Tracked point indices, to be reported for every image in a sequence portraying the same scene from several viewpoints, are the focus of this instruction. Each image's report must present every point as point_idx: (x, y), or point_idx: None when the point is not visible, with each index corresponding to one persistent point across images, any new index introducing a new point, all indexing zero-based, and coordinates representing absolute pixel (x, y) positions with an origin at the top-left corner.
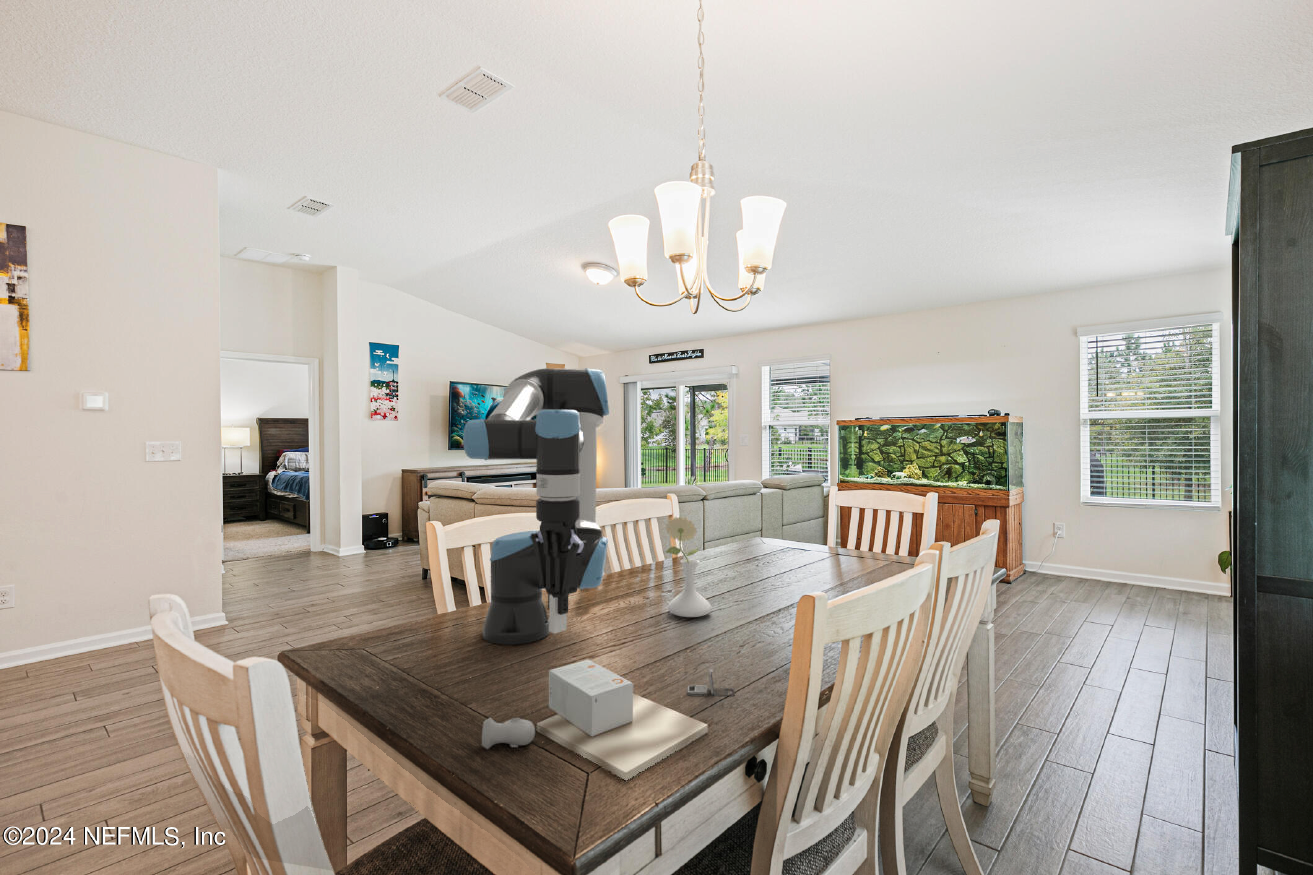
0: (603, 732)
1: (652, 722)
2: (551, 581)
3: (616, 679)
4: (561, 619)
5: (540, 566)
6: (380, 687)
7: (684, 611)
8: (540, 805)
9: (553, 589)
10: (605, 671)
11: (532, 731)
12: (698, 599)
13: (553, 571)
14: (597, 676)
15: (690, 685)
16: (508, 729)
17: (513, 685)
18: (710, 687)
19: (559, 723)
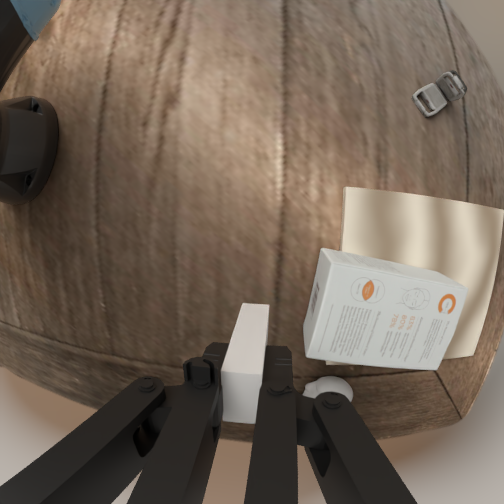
0: None
1: (457, 253)
2: (212, 455)
3: (442, 301)
4: (266, 342)
5: (120, 487)
6: (78, 379)
7: None
8: (418, 418)
9: (219, 419)
10: (407, 288)
11: (352, 393)
12: None
13: (200, 486)
14: (408, 317)
15: (416, 94)
16: None
17: (168, 285)
18: (453, 99)
19: None
